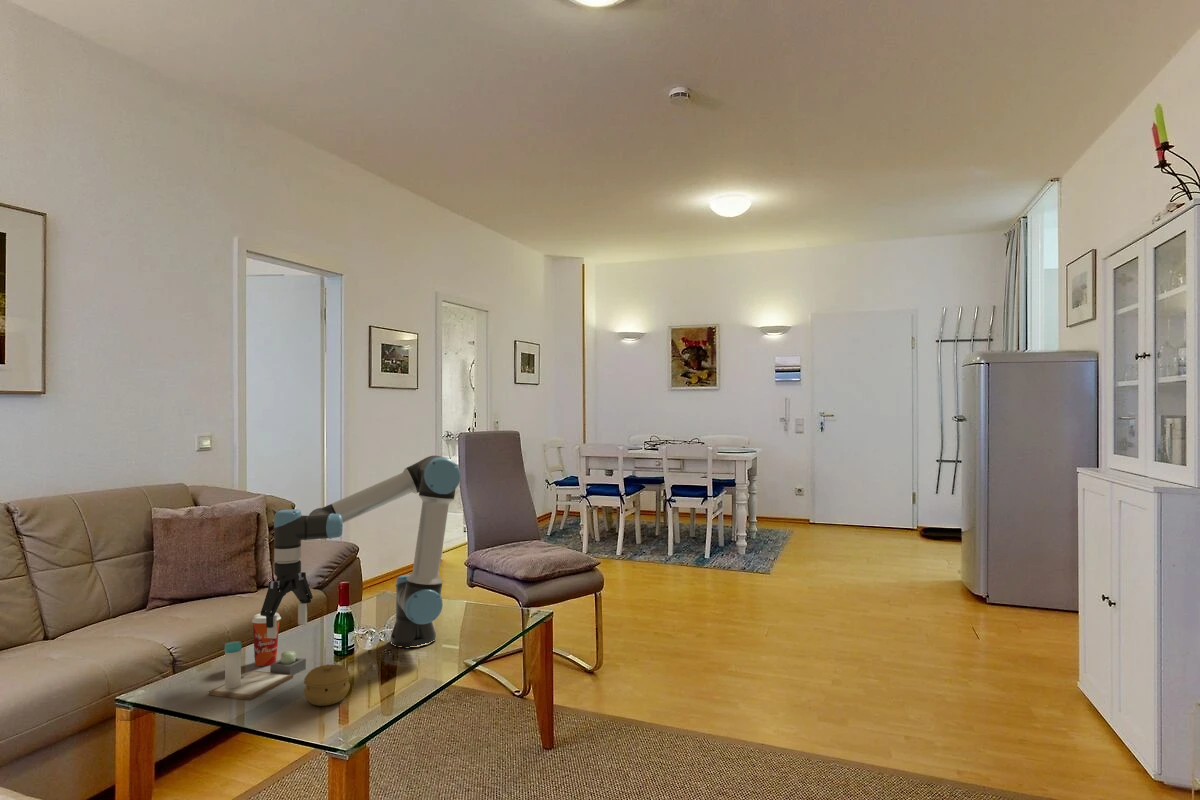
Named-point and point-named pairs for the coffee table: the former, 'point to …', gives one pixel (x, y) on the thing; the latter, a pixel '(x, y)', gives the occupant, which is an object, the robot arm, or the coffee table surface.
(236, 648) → the marker
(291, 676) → the drawing board
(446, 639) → the coffee table surface
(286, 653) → the button
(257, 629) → the coffee cup
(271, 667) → the button housing
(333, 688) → the pot
